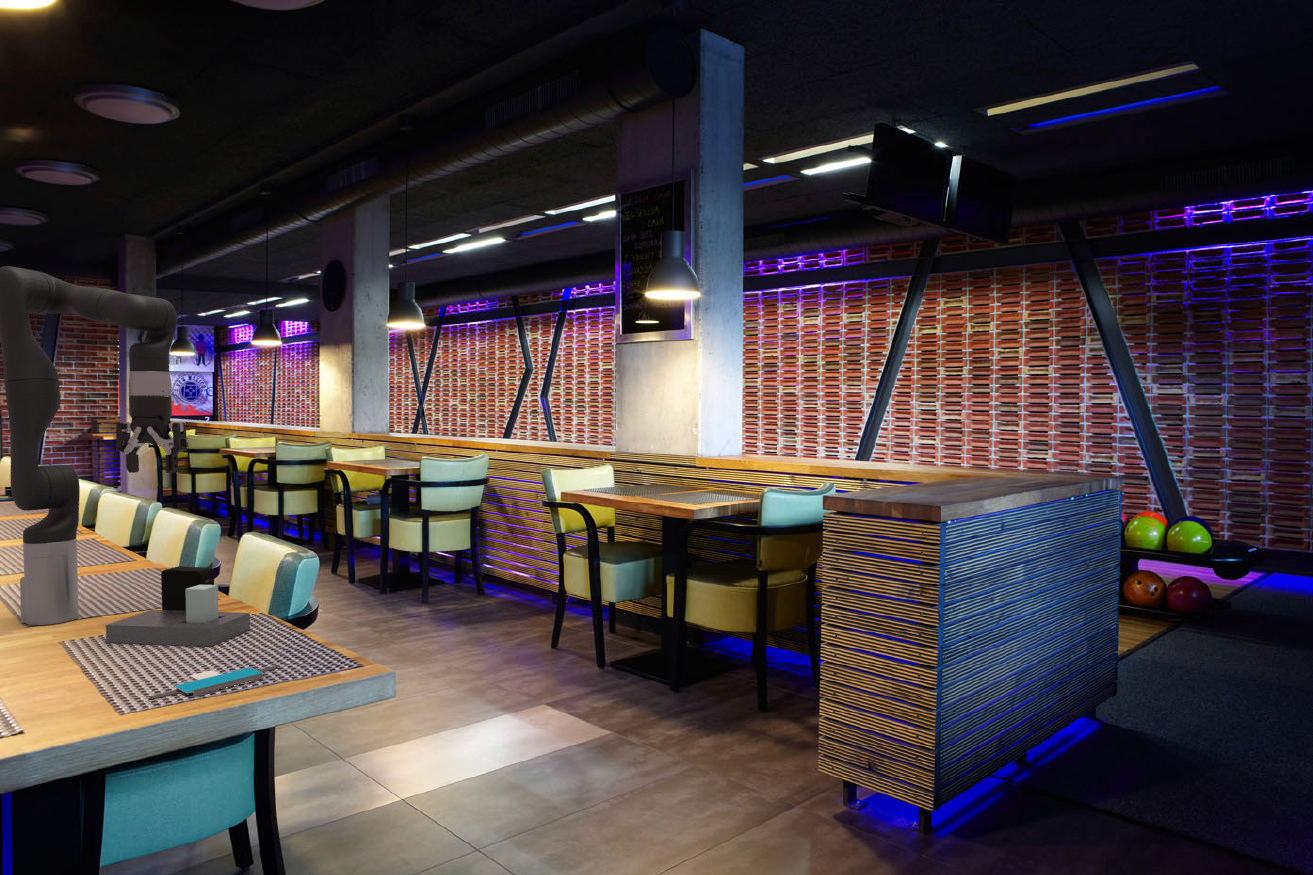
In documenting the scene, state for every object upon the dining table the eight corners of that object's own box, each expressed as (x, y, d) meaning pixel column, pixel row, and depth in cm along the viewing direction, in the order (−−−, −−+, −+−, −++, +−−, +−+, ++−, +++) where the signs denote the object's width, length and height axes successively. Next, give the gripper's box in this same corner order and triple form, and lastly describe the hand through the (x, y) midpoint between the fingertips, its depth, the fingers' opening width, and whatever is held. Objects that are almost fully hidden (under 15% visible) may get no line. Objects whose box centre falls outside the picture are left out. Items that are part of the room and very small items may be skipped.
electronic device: (201, 616, 179) (200, 571, 178) (161, 614, 181) (160, 569, 180) (215, 612, 183) (214, 567, 183) (176, 610, 185) (175, 566, 185)
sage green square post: (186, 639, 161) (185, 589, 161) (200, 634, 165) (199, 584, 165) (205, 640, 161) (204, 589, 160) (218, 634, 165) (217, 585, 164)
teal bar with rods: (259, 662, 148) (259, 653, 148) (292, 676, 141) (292, 667, 141) (135, 692, 133) (134, 682, 133) (163, 709, 125) (163, 699, 125)
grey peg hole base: (106, 642, 159) (105, 624, 159) (152, 626, 171) (151, 609, 171) (210, 646, 156) (210, 628, 156) (250, 629, 168) (249, 612, 168)
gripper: (104, 394, 166) (106, 474, 167) (168, 393, 164) (170, 474, 165) (132, 394, 174) (134, 471, 174) (194, 394, 172) (196, 471, 172)
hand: (152, 472), depth 170 cm, fingers open, 8 cm apart
